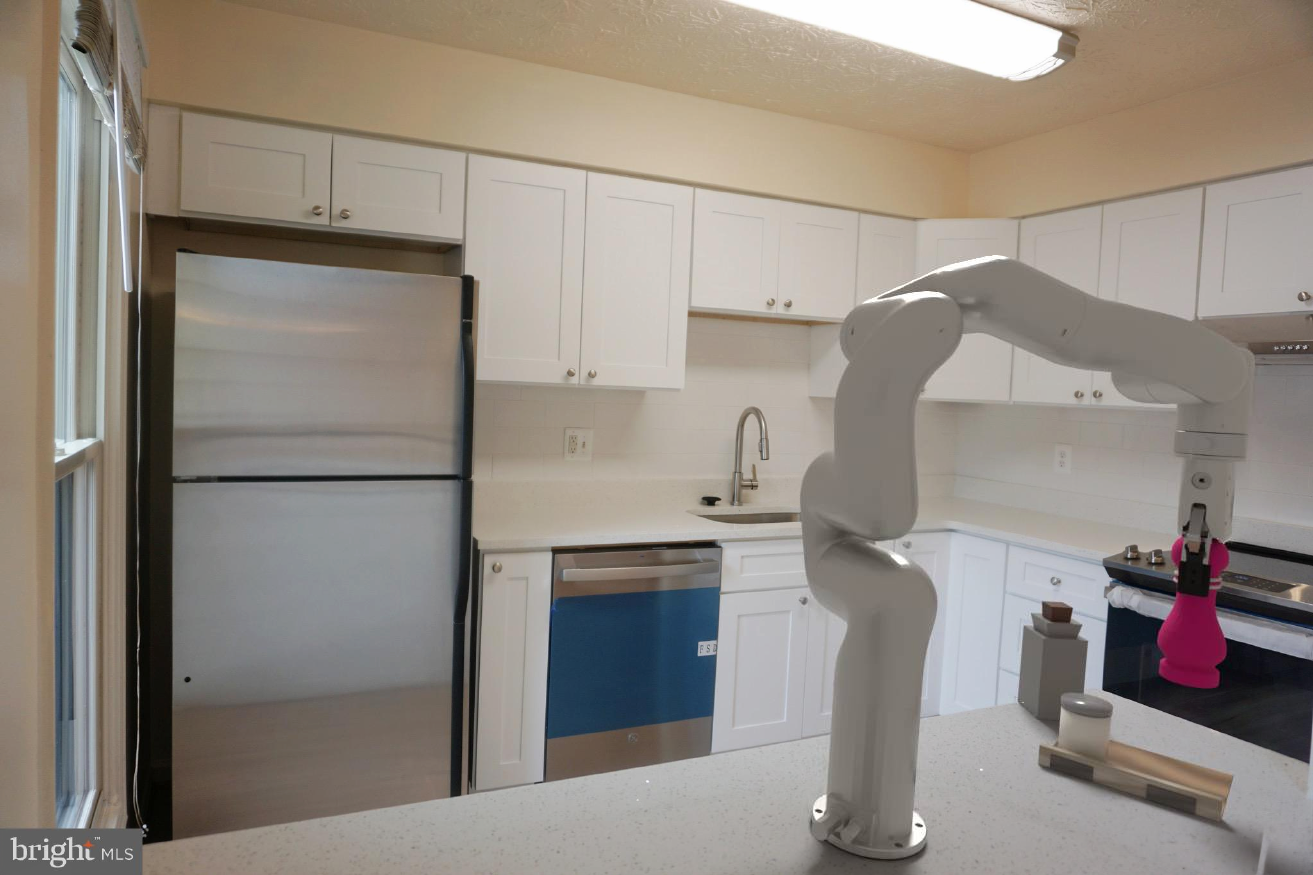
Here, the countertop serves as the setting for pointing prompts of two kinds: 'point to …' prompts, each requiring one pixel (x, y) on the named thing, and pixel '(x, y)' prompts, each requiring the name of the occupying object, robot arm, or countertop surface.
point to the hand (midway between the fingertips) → (1196, 589)
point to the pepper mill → (1194, 628)
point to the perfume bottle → (1051, 660)
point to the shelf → (1147, 777)
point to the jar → (1085, 725)
